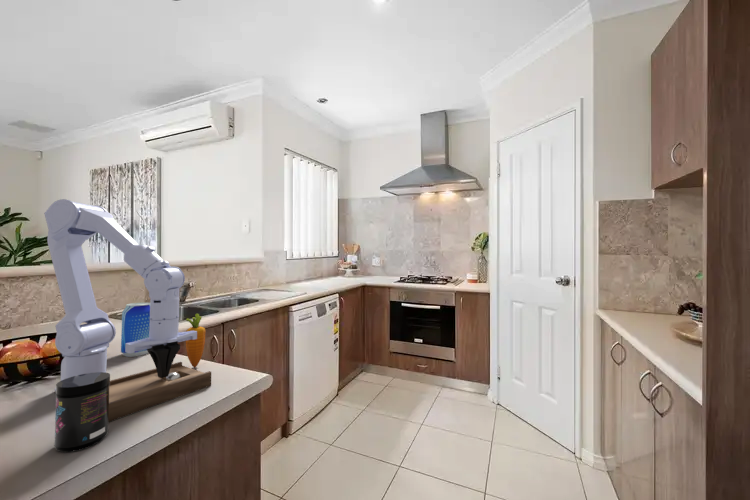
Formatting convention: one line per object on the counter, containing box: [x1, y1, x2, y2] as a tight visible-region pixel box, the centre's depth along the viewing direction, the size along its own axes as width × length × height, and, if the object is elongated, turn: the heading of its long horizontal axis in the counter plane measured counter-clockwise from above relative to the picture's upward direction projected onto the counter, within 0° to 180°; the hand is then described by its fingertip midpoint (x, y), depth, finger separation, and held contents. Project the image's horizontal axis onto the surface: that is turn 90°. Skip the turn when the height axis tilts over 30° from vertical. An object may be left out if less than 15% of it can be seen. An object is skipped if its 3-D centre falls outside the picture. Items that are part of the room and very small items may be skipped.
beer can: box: [120, 302, 150, 358], centre depth 102 cm, size 8×8×16 cm
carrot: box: [185, 313, 207, 368], centre depth 89 cm, size 5×5×15 cm
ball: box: [165, 372, 181, 382], centre depth 76 cm, size 3×3×3 cm
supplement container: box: [53, 371, 111, 453], centre depth 53 cm, size 7×7×10 cm
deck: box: [108, 361, 212, 423], centre depth 71 cm, size 14×21×3 cm, turn 149°
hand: (163, 376), depth 73 cm, fingers closed
